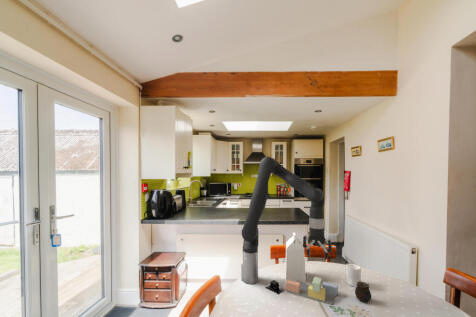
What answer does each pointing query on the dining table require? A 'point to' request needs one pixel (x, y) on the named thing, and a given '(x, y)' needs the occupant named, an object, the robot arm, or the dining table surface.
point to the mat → (304, 293)
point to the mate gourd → (363, 292)
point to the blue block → (330, 288)
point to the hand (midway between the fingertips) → (317, 257)
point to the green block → (316, 284)
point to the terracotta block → (293, 286)
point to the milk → (295, 260)
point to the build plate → (274, 287)
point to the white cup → (353, 274)
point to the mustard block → (317, 293)
